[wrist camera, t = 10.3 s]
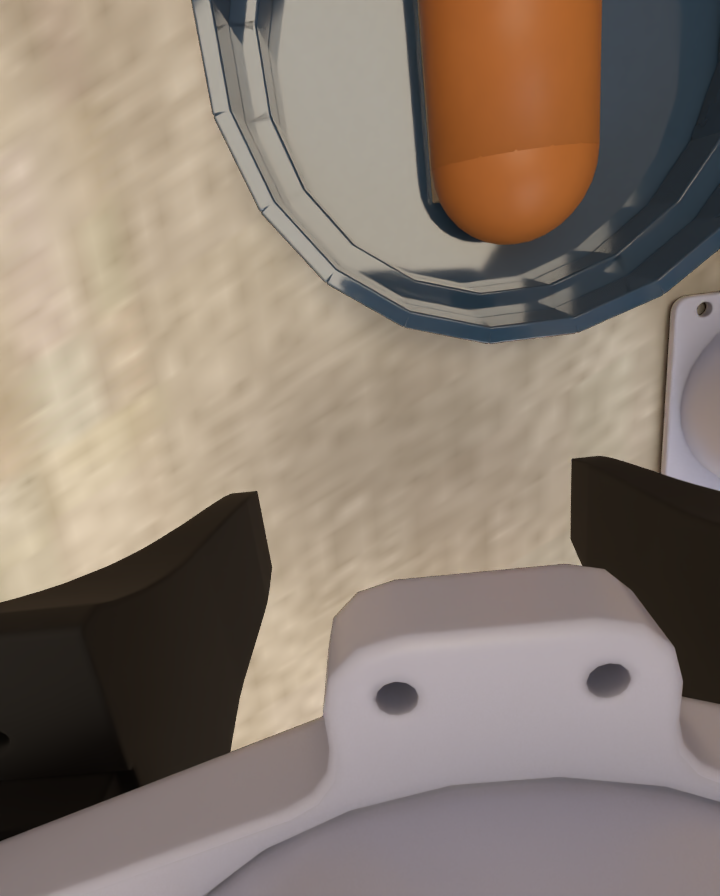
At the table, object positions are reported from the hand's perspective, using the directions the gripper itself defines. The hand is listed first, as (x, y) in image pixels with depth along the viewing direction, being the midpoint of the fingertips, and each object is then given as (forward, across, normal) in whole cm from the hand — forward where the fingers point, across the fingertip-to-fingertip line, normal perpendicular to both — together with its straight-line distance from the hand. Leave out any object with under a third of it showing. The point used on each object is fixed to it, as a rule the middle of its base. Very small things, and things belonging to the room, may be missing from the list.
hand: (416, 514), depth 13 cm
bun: (+9, -4, -11) cm, 14 cm away
